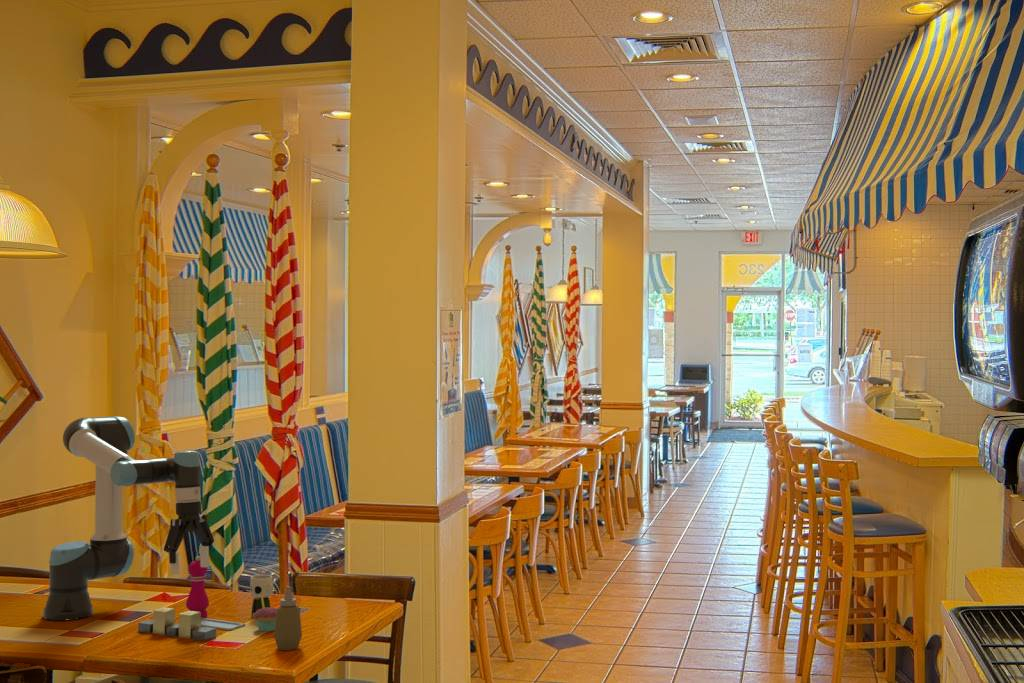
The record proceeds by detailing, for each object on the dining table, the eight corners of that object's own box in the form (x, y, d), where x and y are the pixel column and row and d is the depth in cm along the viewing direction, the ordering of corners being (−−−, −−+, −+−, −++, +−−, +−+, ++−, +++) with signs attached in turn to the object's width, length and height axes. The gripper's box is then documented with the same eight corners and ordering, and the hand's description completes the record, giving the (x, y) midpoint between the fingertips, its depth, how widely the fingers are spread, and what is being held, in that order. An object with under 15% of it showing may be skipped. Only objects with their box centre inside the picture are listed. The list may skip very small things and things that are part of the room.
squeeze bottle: (275, 644, 316) (276, 584, 316) (303, 644, 316) (304, 583, 316) (271, 652, 307) (272, 589, 308) (300, 651, 308) (300, 589, 308)
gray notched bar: (138, 632, 328) (138, 622, 328) (149, 628, 333) (149, 619, 333) (204, 642, 317) (205, 632, 317) (216, 638, 322) (216, 628, 322)
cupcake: (256, 635, 326) (257, 596, 326) (250, 628, 334) (250, 590, 334) (284, 632, 330) (284, 593, 330) (277, 625, 338) (277, 588, 338)
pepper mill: (202, 620, 344) (202, 558, 344) (181, 618, 345) (182, 557, 346) (212, 615, 351) (213, 554, 351) (192, 613, 352) (193, 553, 353)
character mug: (241, 615, 350) (242, 576, 351) (258, 611, 356) (259, 572, 356) (263, 620, 344) (264, 580, 344) (280, 616, 350) (281, 577, 350)
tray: (184, 625, 337) (184, 622, 337) (199, 620, 343) (199, 617, 343) (230, 631, 330) (230, 628, 330) (244, 626, 336) (244, 623, 336)
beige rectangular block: (178, 636, 322) (179, 613, 322) (188, 633, 326) (189, 610, 326) (190, 638, 320) (190, 615, 320) (200, 635, 324) (200, 612, 324)
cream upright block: (153, 633, 326) (153, 610, 326) (163, 629, 330) (163, 607, 330) (164, 634, 324) (164, 611, 324) (174, 631, 328) (175, 608, 328)
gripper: (170, 505, 315) (172, 577, 314) (224, 497, 338) (226, 564, 337) (150, 505, 318) (152, 576, 317) (205, 497, 341) (207, 564, 340)
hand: (190, 570), depth 327 cm, fingers open, 13 cm apart
